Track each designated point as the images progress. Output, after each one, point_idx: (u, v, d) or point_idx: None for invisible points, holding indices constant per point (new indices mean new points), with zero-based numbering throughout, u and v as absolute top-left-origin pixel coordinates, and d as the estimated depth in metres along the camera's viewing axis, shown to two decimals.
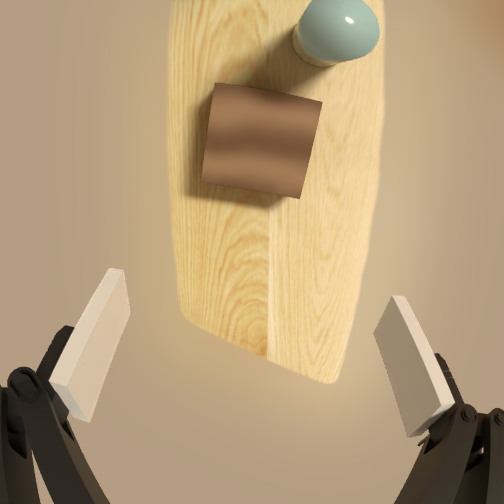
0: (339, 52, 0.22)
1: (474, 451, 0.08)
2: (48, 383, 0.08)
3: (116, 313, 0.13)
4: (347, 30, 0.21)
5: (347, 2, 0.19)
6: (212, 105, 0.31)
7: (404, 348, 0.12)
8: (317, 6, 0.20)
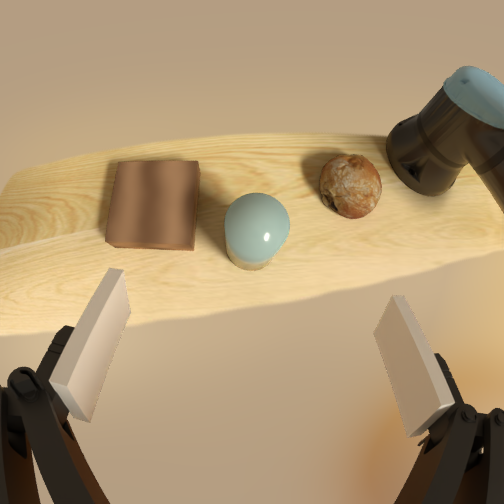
0: (229, 223, 0.33)
1: (474, 451, 0.08)
2: (48, 383, 0.08)
3: (116, 313, 0.13)
4: (252, 227, 0.33)
5: (280, 224, 0.33)
6: (178, 161, 0.41)
7: (404, 347, 0.12)
8: (268, 202, 0.33)
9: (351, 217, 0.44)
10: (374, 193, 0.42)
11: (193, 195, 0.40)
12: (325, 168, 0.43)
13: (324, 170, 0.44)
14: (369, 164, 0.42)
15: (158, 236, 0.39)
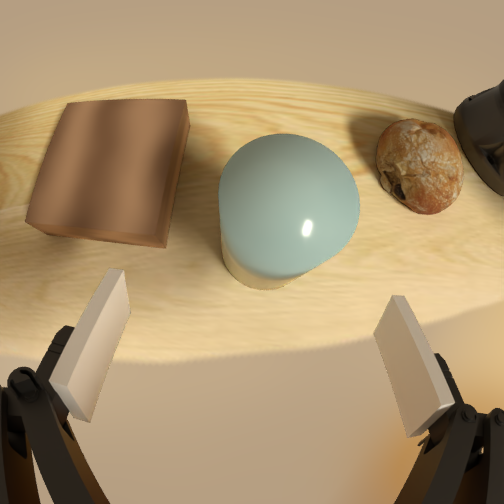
0: (230, 190, 0.14)
1: (474, 451, 0.08)
2: (48, 383, 0.08)
3: (116, 313, 0.13)
4: (281, 201, 0.14)
5: (341, 202, 0.15)
6: (155, 100, 0.23)
7: (404, 347, 0.12)
8: (316, 153, 0.15)
9: (424, 211, 0.26)
10: (459, 177, 0.23)
11: (171, 151, 0.22)
12: (388, 132, 0.25)
13: (387, 135, 0.25)
14: (449, 135, 0.24)
15: (102, 217, 0.20)
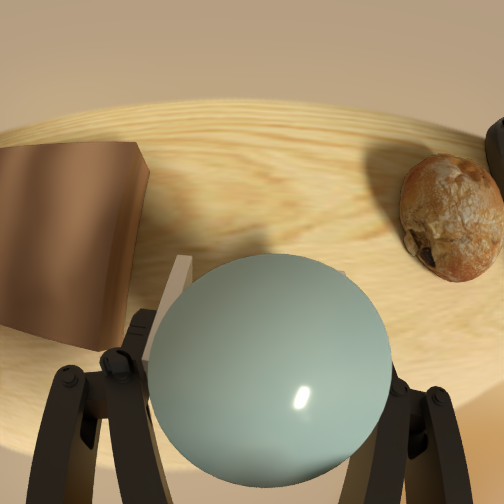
0: (168, 376, 0.08)
1: (419, 432, 0.10)
2: None
3: None
4: (257, 396, 0.08)
5: (362, 382, 0.08)
6: (96, 143, 0.16)
7: None
8: (325, 293, 0.08)
9: (455, 281, 0.19)
10: (501, 237, 0.17)
11: (113, 226, 0.15)
12: (419, 176, 0.19)
13: (417, 180, 0.19)
14: (492, 179, 0.17)
15: (36, 320, 0.14)
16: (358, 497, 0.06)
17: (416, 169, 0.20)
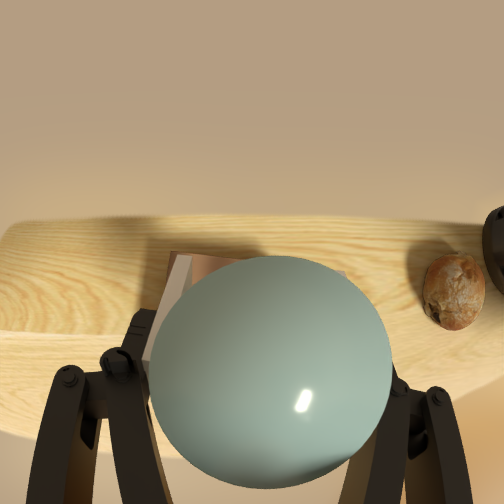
0: (169, 378, 0.08)
1: (419, 432, 0.10)
2: None
3: None
4: (257, 398, 0.08)
5: (362, 384, 0.08)
6: None
7: None
8: (326, 295, 0.08)
9: None
10: (480, 306, 0.31)
11: None
12: (437, 274, 0.32)
13: (436, 276, 0.32)
14: (480, 271, 0.31)
15: None
16: (358, 497, 0.06)
17: (436, 267, 0.33)
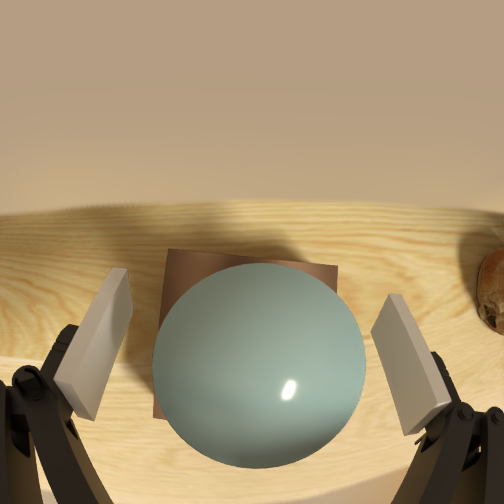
0: (169, 368, 0.09)
1: (472, 449, 0.08)
2: (52, 382, 0.08)
3: (120, 312, 0.13)
4: (245, 385, 0.09)
5: (338, 375, 0.09)
6: (301, 264, 0.21)
7: (400, 346, 0.12)
8: (304, 297, 0.10)
9: None
10: None
11: None
12: (495, 270, 0.24)
13: (493, 273, 0.24)
14: None
15: None
16: None
17: (492, 262, 0.25)
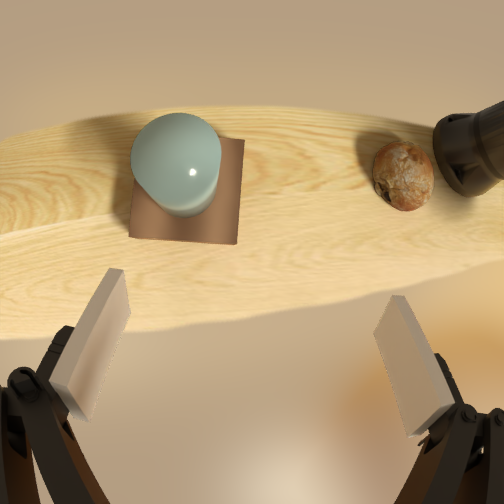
0: (137, 153, 0.21)
1: (474, 451, 0.08)
2: (48, 383, 0.08)
3: (116, 313, 0.13)
4: (167, 158, 0.22)
5: (207, 156, 0.22)
6: (221, 138, 0.33)
7: (404, 347, 0.12)
8: (194, 125, 0.22)
9: (402, 210, 0.40)
10: (429, 190, 0.37)
11: (240, 183, 0.34)
12: (384, 155, 0.37)
13: (383, 157, 0.37)
14: (427, 158, 0.36)
15: (197, 233, 0.33)
16: None
17: (383, 150, 0.38)
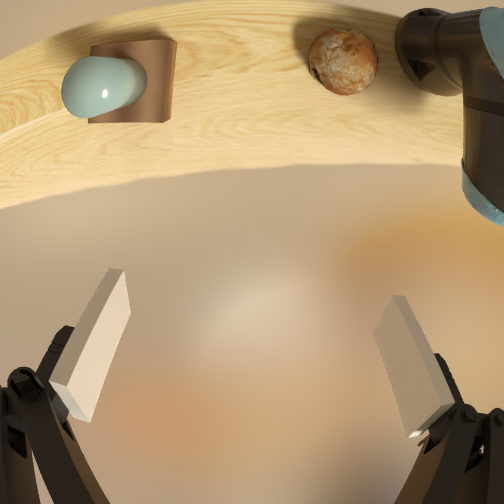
0: (65, 90, 0.25)
1: (474, 451, 0.08)
2: (48, 383, 0.08)
3: (116, 313, 0.13)
4: (82, 91, 0.25)
5: (107, 86, 0.25)
6: (150, 41, 0.32)
7: (404, 347, 0.12)
8: (98, 64, 0.24)
9: (336, 93, 0.38)
10: (364, 80, 0.34)
11: (165, 75, 0.35)
12: (316, 42, 0.33)
13: (314, 44, 0.33)
14: (367, 49, 0.31)
15: (134, 116, 0.37)
16: None
17: (318, 37, 0.33)
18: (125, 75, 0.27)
